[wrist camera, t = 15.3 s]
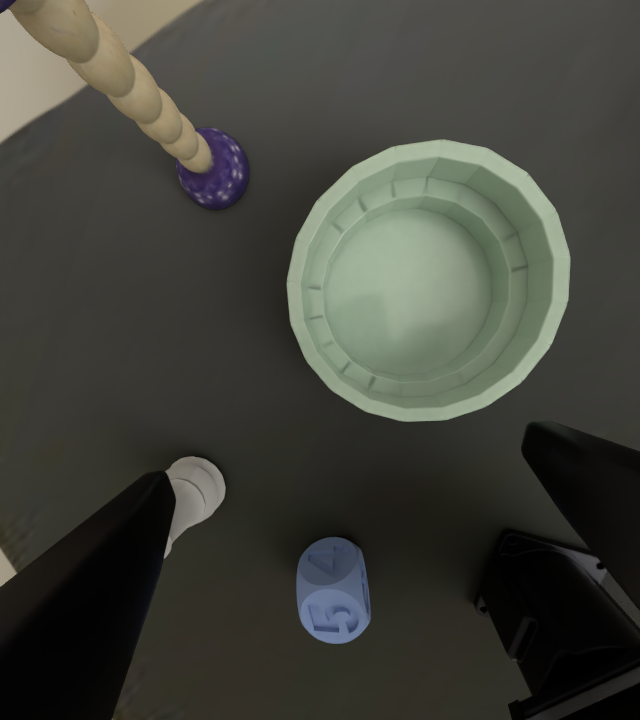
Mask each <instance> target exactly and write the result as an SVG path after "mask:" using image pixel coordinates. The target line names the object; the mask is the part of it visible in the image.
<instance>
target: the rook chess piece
mask: <svg viewBox="0 0 640 720" xmlns="http://www.w3.org/2000/svg"><path fill="white" fill-rule="evenodd" d="M165 472H166V473H167V475H168V477H169V479H170V482H171V485H172V487H173V490H174V493H175V496H176V507H175V511H174V516H173V520H172V524H171V529H170V533H169V537H168V542H167V546H166V550H165V555H164V558H165V557H167V555H168V554H169V552H170V551H171V544H172V543H173V542H174V540H175V539H176V538H177V537H178V536H179V535H181V534H182V533H183V532H184V531H185V530H186V529H187V528H188V527H191V526H193V525H195V524H196V523H200V522H202V521H203V520H205V519H207V518H208V517H210V516H211V515H212V514H213V512H214V511H215V509H216V508H218V507H219V505H220V504H221V502H222V501H223V499H224V496H225V489H226V487H225V483H224V479H223V476H222V474H221V472H220V471H219V470H218V468H217V467H216V466H215V465H214V464H212V463H211V462H209V461H208V460H206V459H202V458H198V457H194V456H192V457H185V458H181V459H179V460H178V461H176V462H175V463H173V464H172V466H171V467H170V469H168V470H167V471H165Z"/></svg>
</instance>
